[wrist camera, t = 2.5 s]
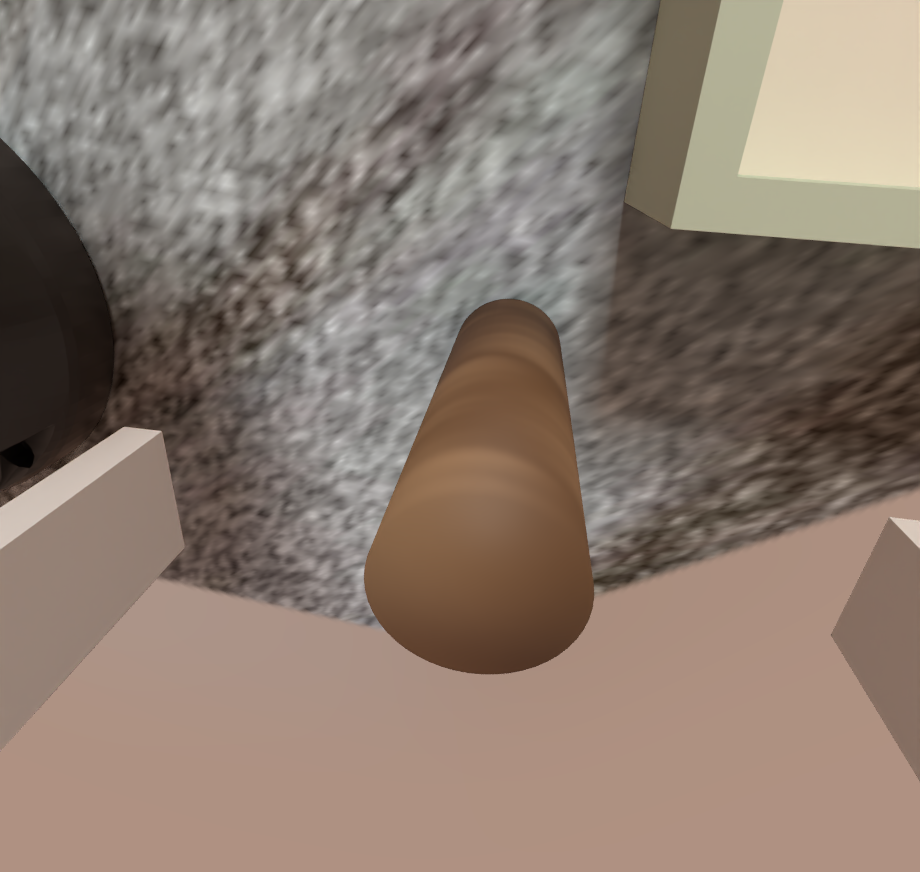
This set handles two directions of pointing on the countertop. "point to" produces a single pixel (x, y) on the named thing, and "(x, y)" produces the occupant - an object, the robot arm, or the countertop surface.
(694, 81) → the peg box
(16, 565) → the robot arm
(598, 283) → the countertop surface
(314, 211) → the countertop surface
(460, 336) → the peg
